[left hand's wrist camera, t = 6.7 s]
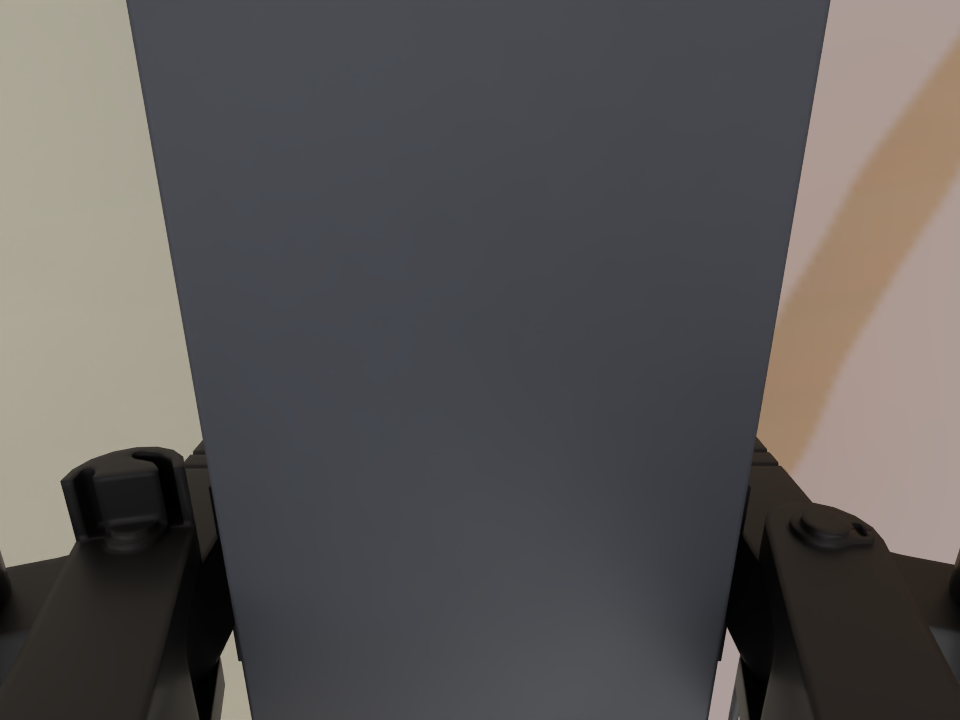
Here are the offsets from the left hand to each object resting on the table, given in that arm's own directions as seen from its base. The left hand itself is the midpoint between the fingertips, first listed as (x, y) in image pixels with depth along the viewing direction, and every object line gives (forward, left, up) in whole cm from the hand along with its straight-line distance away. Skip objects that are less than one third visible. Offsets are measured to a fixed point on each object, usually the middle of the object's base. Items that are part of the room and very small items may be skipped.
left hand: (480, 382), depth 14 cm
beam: (+25, +5, -1) cm, 26 cm away
